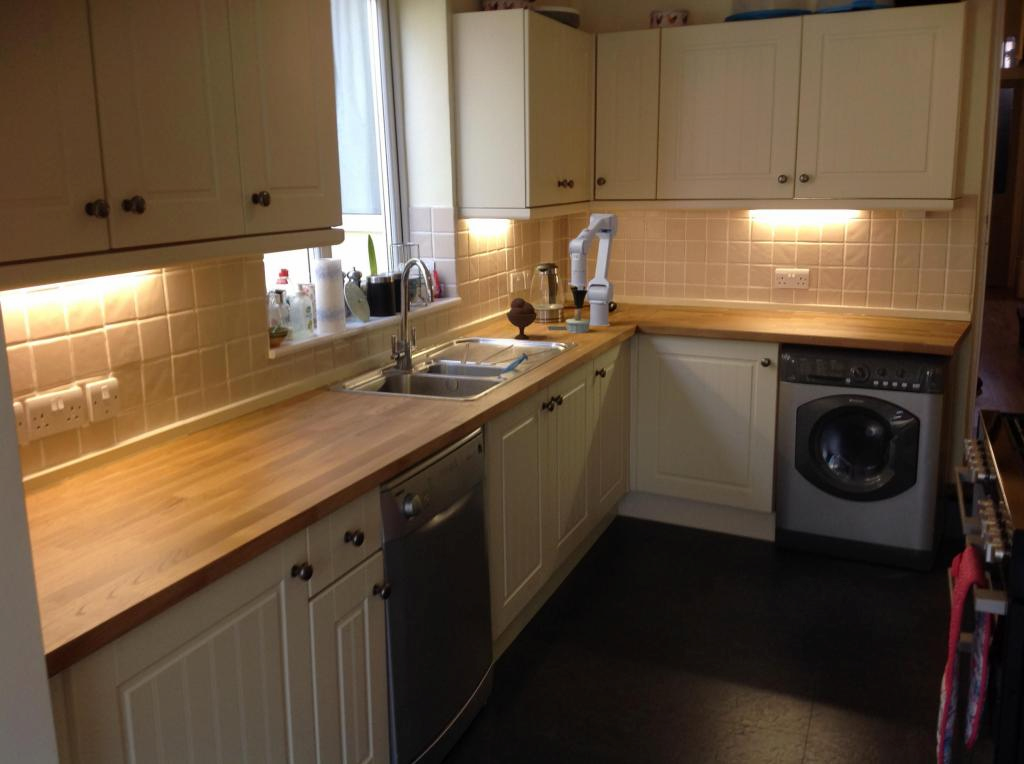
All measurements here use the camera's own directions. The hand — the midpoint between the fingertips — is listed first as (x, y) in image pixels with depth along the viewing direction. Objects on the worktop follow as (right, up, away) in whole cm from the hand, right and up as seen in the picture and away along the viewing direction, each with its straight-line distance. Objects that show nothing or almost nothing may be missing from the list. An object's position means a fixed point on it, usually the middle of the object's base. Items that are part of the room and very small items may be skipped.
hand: (578, 307), depth 367 cm
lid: (0, -6, +1) cm, 6 cm away
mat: (-8, -8, +9) cm, 15 cm away
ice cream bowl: (-22, -13, -10) cm, 27 cm away
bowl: (0, -10, +2) cm, 10 cm away
